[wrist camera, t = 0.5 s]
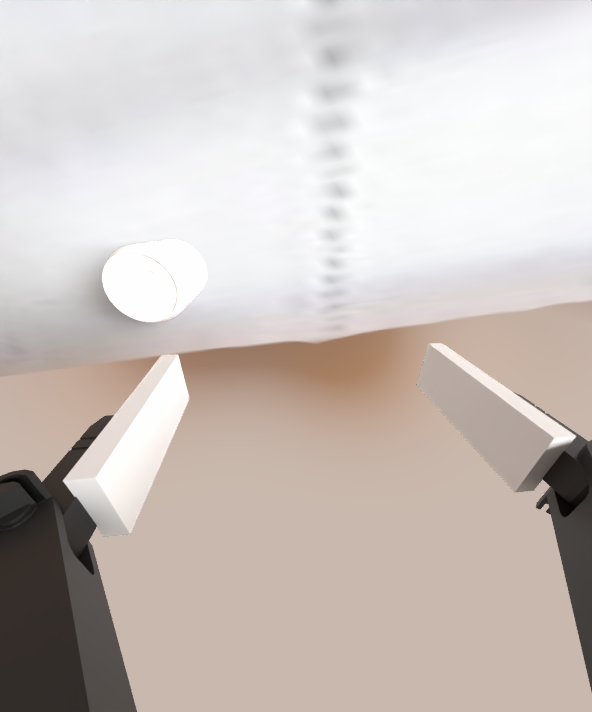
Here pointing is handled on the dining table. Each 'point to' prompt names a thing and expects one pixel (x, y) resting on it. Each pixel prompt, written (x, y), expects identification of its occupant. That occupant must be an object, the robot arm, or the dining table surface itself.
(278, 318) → the dining table surface
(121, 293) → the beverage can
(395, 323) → the dining table surface
